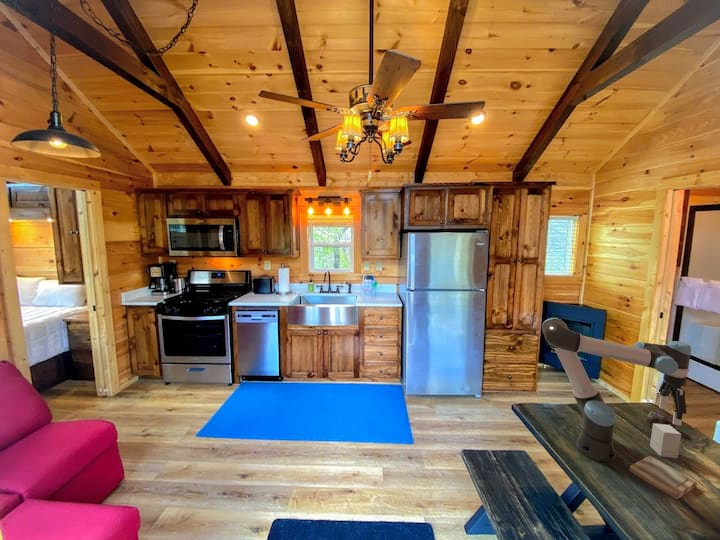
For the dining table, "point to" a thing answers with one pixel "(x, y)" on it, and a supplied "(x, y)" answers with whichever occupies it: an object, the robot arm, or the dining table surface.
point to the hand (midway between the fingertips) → (669, 416)
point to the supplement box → (665, 440)
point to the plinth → (663, 477)
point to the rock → (659, 418)
